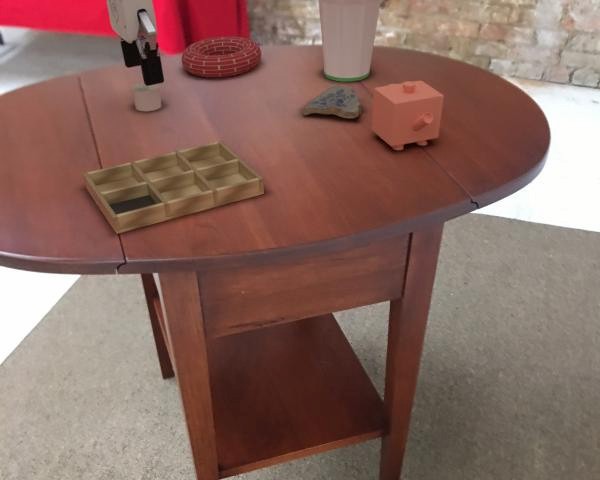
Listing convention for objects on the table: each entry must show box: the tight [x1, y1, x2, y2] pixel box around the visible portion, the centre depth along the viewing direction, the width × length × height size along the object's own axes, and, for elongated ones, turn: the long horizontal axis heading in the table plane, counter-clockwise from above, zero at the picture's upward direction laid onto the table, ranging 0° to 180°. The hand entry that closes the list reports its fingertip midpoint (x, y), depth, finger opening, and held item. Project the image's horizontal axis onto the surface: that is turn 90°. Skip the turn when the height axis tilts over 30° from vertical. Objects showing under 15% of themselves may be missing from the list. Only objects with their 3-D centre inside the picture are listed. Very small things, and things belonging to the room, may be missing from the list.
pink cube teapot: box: [371, 79, 445, 151], centre depth 93 cm, size 8×12×8 cm, turn 21°
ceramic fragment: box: [302, 84, 363, 119], centre depth 104 cm, size 11×3×10 cm
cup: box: [318, 0, 381, 83], centre depth 112 cm, size 12×12×15 cm
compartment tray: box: [82, 140, 265, 235], centre depth 85 cm, size 20×14×2 cm
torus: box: [181, 36, 262, 78], centre depth 120 cm, size 16×14×4 cm
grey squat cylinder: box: [131, 82, 162, 112], centre depth 106 cm, size 4×4×3 cm
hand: (144, 74), depth 104 cm, fingers open, 9 cm apart
